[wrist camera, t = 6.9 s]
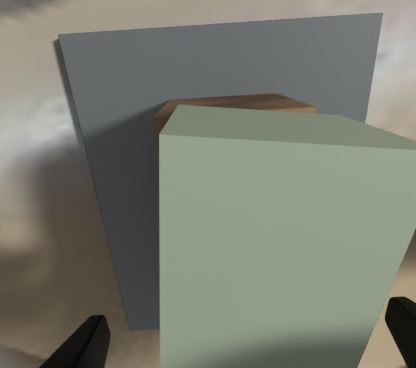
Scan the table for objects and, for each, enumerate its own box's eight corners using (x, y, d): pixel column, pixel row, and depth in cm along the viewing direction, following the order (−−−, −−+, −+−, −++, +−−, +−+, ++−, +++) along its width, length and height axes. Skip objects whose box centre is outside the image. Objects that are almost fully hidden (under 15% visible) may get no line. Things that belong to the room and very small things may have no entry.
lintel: (340, 115, 8) (448, 151, 5) (277, 370, 13) (306, 488, 9) (178, 104, 8) (159, 134, 5) (172, 367, 13) (160, 487, 9)
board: (374, 15, 12) (383, 12, 12) (329, 310, 19) (333, 318, 19) (64, 35, 12) (57, 34, 12) (131, 322, 19) (129, 330, 19)
